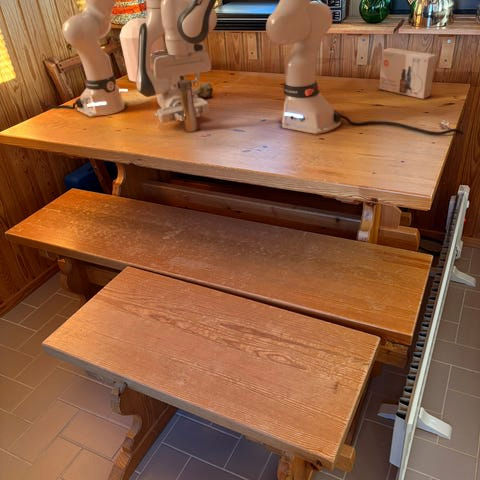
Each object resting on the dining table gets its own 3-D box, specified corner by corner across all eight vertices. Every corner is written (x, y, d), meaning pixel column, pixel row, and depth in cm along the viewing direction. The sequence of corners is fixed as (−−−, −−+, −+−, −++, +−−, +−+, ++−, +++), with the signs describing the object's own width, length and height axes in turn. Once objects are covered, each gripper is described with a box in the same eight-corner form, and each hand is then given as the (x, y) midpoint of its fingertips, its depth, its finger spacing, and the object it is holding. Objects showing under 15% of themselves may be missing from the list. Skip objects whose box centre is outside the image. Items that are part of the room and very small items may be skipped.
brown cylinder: (186, 132, 173) (178, 86, 163) (185, 128, 176) (177, 82, 167) (198, 130, 173) (191, 84, 164) (197, 126, 177) (190, 81, 167)
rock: (187, 97, 210) (190, 100, 202) (185, 83, 208) (188, 85, 199) (210, 94, 212) (214, 97, 204) (208, 80, 210) (212, 82, 201)
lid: (176, 87, 167) (175, 81, 166) (189, 84, 169) (188, 78, 168) (180, 90, 163) (179, 84, 162) (193, 87, 165) (192, 81, 164)
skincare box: (377, 89, 194) (381, 50, 185) (385, 86, 197) (389, 47, 188) (423, 99, 180) (429, 56, 171) (430, 95, 183) (437, 53, 174)
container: (160, 81, 233) (149, 21, 217) (121, 82, 238) (108, 23, 222) (174, 69, 249) (165, 13, 233) (138, 70, 254) (126, 15, 238)
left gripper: (151, 105, 177) (162, 115, 166) (200, 93, 183) (214, 102, 173) (154, 121, 180) (165, 131, 170) (202, 109, 187) (216, 118, 176)
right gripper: (150, 53, 154) (158, 95, 161) (209, 44, 158) (214, 85, 165) (147, 49, 159) (155, 90, 166) (205, 41, 163) (210, 80, 171)
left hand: (190, 116), depth 171 cm, fingers closed on brown cylinder, 4 cm apart
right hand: (185, 87), depth 166 cm, fingers open, 6 cm apart
